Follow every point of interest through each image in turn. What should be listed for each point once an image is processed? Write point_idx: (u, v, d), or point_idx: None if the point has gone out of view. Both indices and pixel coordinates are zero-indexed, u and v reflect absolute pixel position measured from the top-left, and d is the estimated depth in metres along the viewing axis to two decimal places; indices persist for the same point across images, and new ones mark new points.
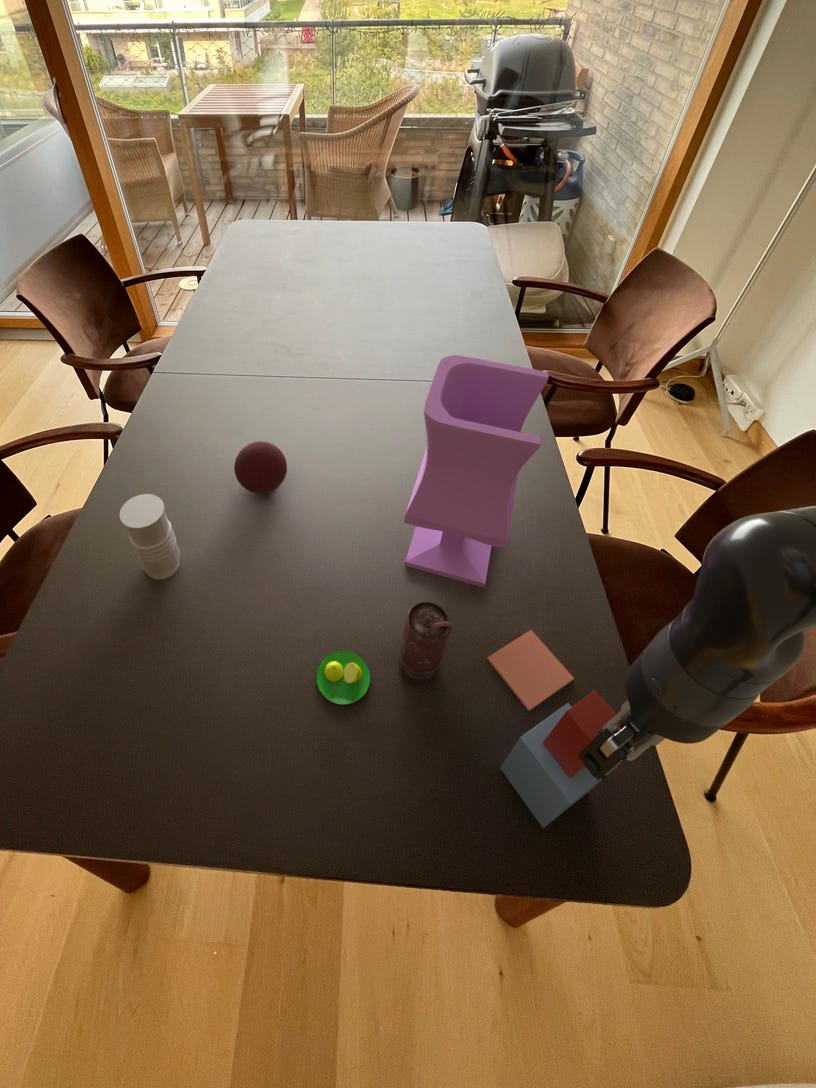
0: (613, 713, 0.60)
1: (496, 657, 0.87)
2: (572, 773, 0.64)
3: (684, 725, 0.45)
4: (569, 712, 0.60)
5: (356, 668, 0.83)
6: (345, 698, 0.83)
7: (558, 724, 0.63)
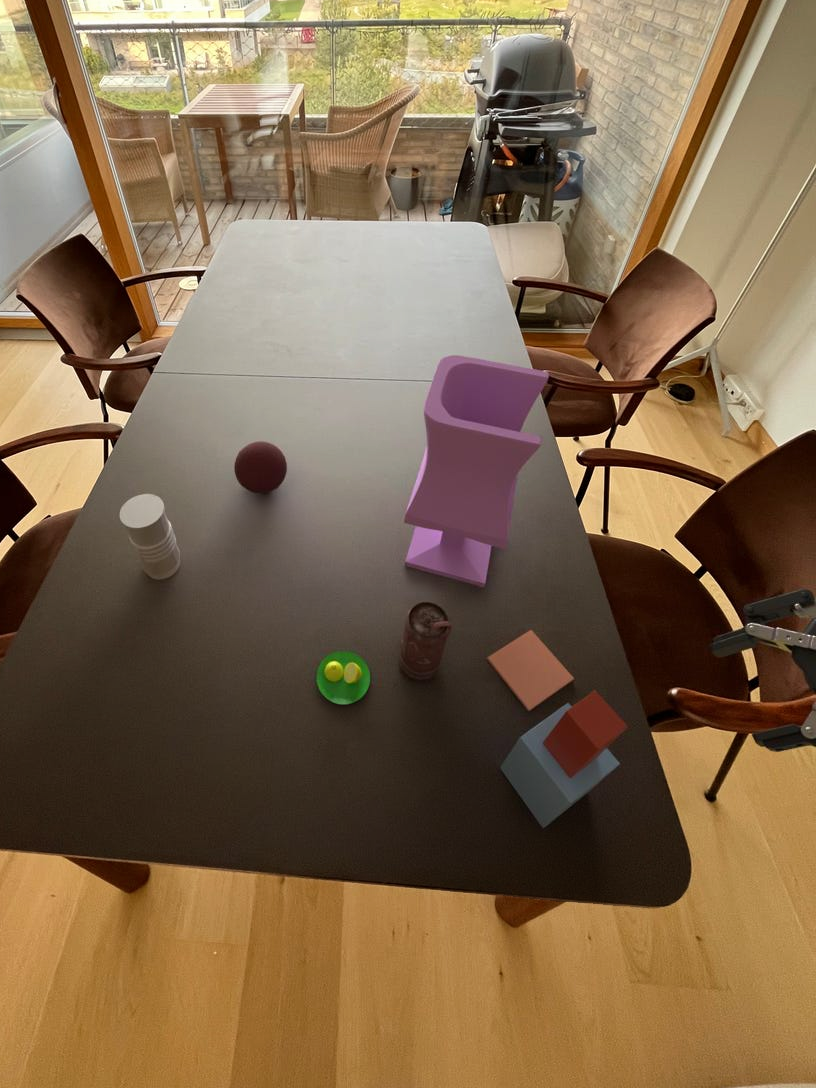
0: (613, 713, 0.60)
1: (496, 657, 0.87)
2: (572, 773, 0.64)
3: None
4: (569, 712, 0.60)
5: (356, 668, 0.83)
6: (345, 698, 0.83)
7: (558, 724, 0.63)
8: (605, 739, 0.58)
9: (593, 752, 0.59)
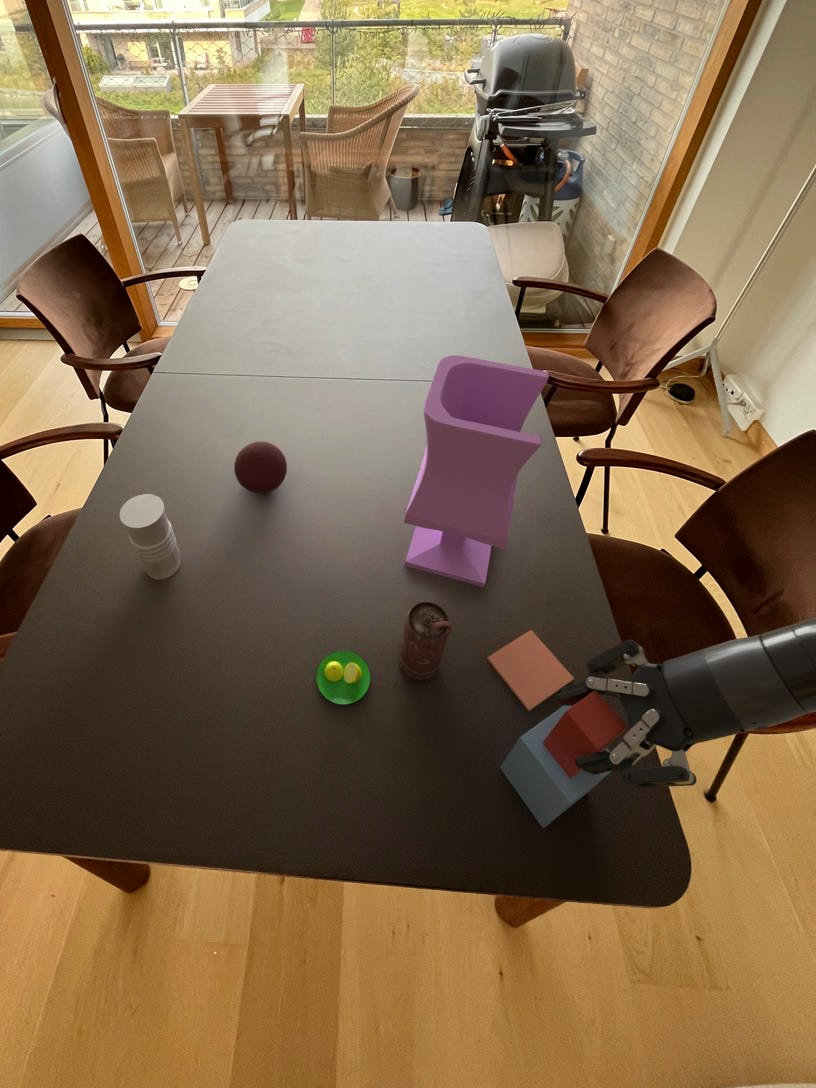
0: (613, 713, 0.60)
1: (496, 657, 0.87)
2: (572, 773, 0.64)
3: (696, 652, 0.56)
4: (569, 712, 0.60)
5: (356, 668, 0.83)
6: (345, 698, 0.83)
7: (558, 724, 0.63)
8: (604, 739, 0.58)
9: (593, 752, 0.59)
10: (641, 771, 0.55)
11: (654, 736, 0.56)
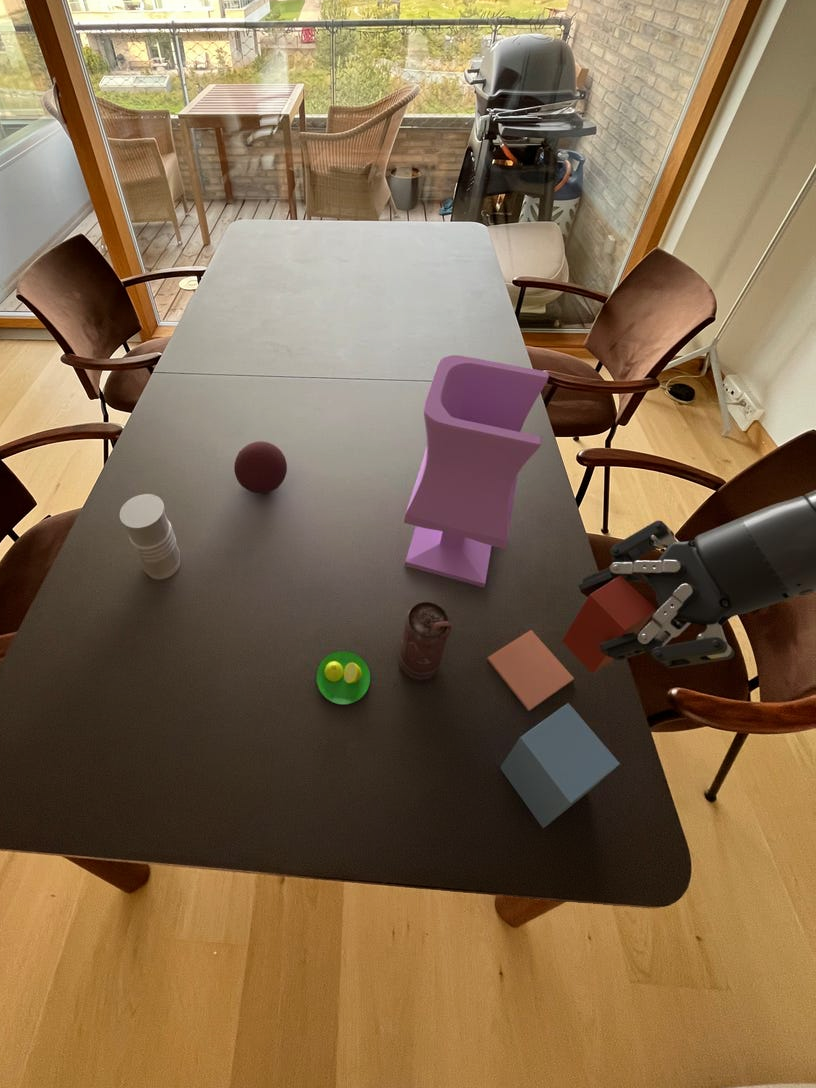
0: (640, 597, 0.56)
1: (496, 657, 0.87)
2: (595, 667, 0.60)
3: None
4: (593, 596, 0.56)
5: (356, 668, 0.83)
6: (345, 698, 0.83)
7: (580, 613, 0.59)
8: (632, 621, 0.54)
9: (619, 635, 0.55)
10: (673, 647, 0.51)
11: (687, 611, 0.52)
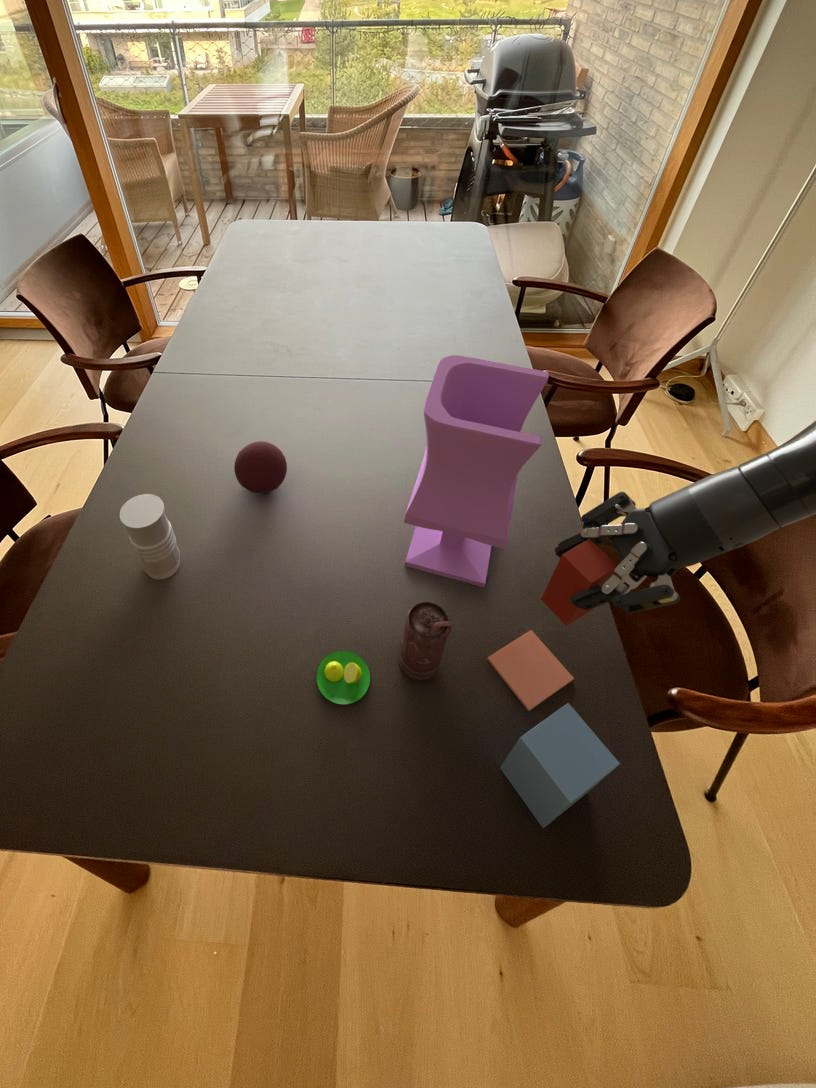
0: (605, 556, 0.66)
1: (496, 657, 0.87)
2: (568, 619, 0.69)
3: None
4: (565, 555, 0.66)
5: (356, 668, 0.83)
6: (345, 698, 0.83)
7: (555, 572, 0.68)
8: (597, 575, 0.64)
9: (586, 588, 0.64)
10: (630, 595, 0.60)
11: (642, 565, 0.61)
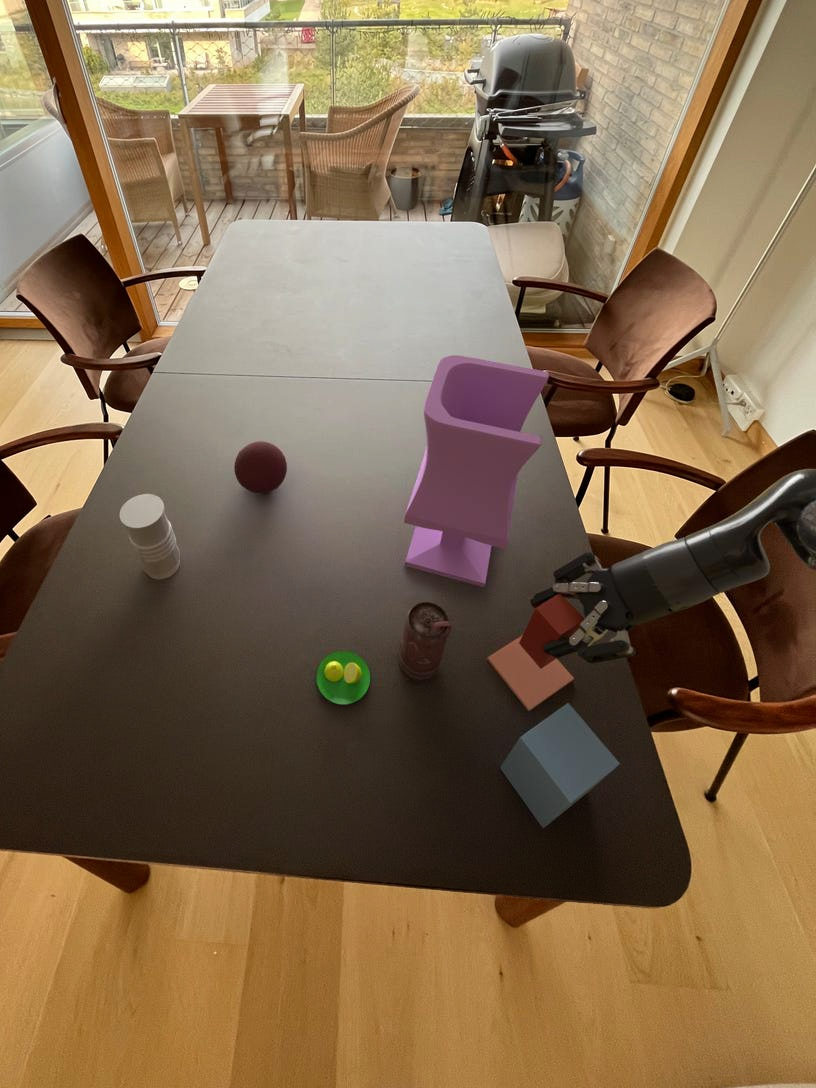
0: (573, 609, 0.74)
1: (496, 657, 0.87)
2: (542, 663, 0.78)
3: (637, 554, 0.70)
4: (538, 609, 0.74)
5: (356, 668, 0.83)
6: (345, 698, 0.83)
7: (530, 622, 0.77)
8: (565, 628, 0.73)
9: (556, 639, 0.73)
10: (593, 647, 0.69)
11: (604, 621, 0.70)
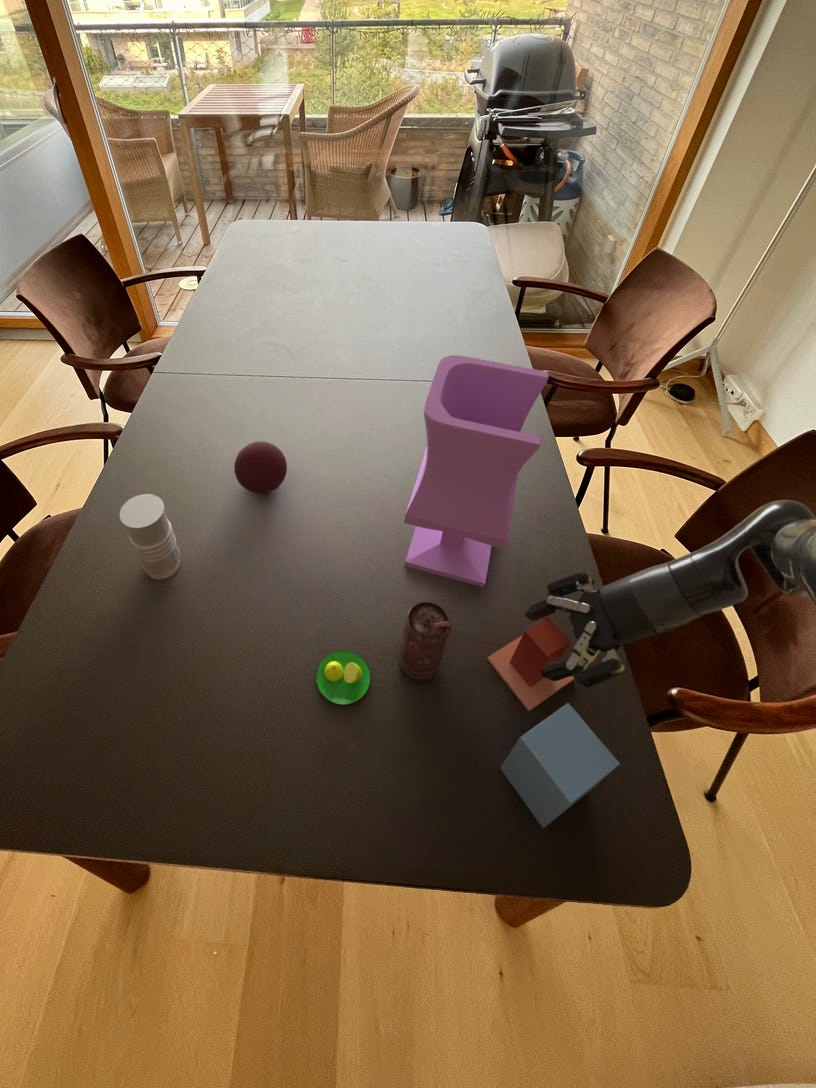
0: (560, 632, 0.79)
1: (496, 657, 0.87)
2: (531, 682, 0.82)
3: None
4: (527, 631, 0.79)
5: (356, 668, 0.83)
6: (345, 698, 0.83)
7: (520, 643, 0.81)
8: (553, 649, 0.77)
9: (544, 660, 0.77)
10: (587, 670, 0.72)
11: (592, 641, 0.73)
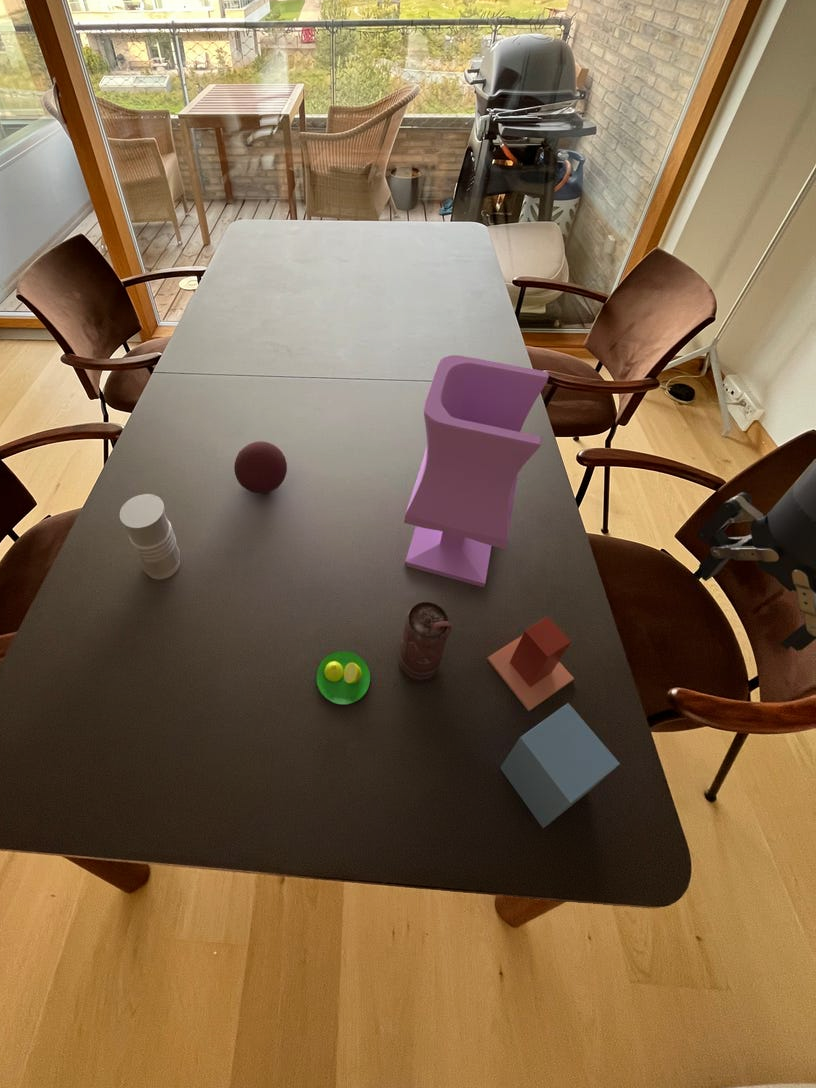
0: (560, 632, 0.79)
1: (496, 657, 0.87)
2: (531, 682, 0.82)
3: (789, 496, 0.47)
4: (527, 631, 0.79)
5: (356, 668, 0.83)
6: (345, 698, 0.83)
7: (520, 643, 0.81)
8: (553, 649, 0.77)
9: (544, 660, 0.77)
10: None
11: None
